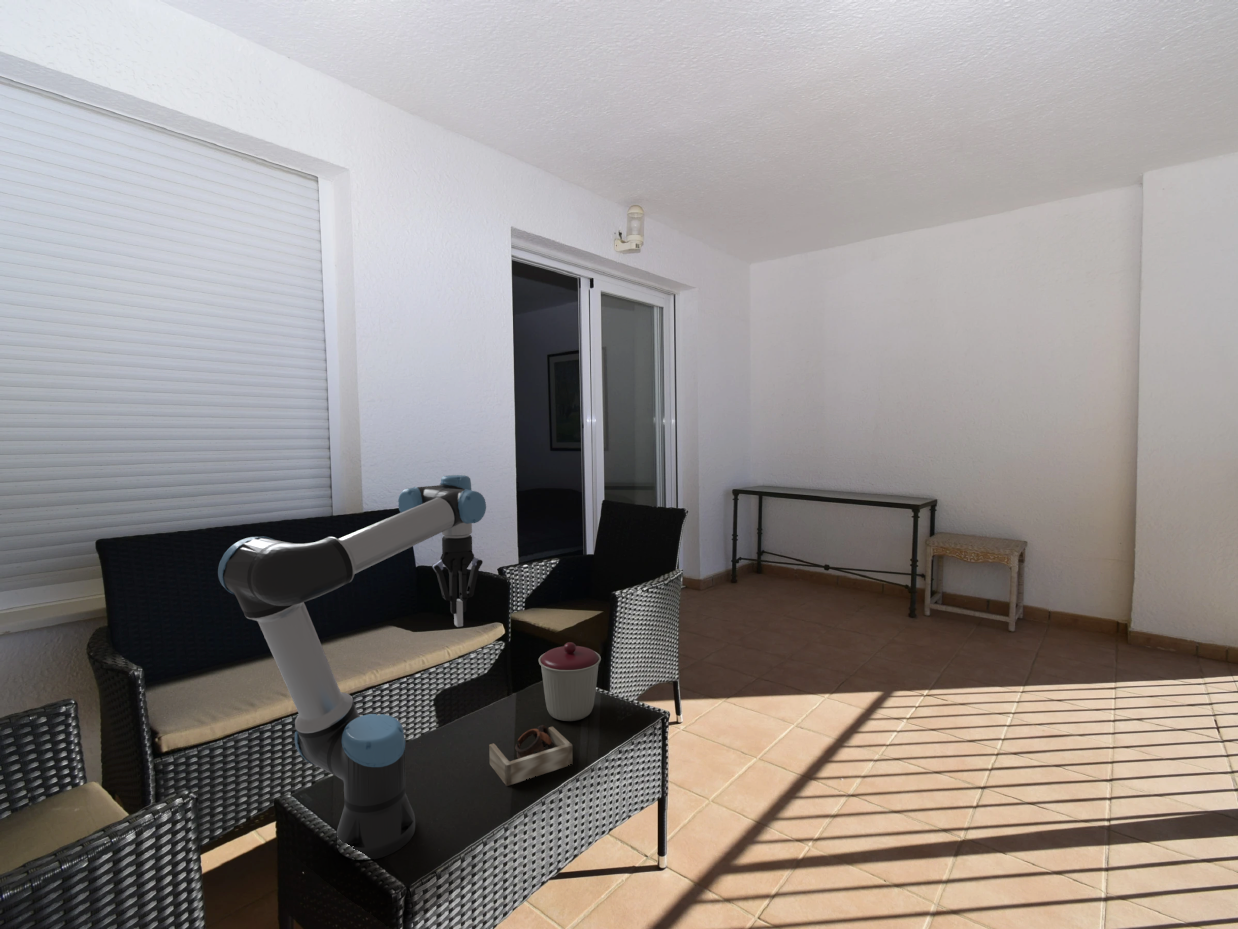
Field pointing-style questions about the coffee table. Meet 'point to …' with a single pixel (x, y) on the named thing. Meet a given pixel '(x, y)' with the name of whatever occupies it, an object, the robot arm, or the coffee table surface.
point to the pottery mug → (537, 745)
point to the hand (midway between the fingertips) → (458, 625)
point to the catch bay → (532, 760)
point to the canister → (569, 681)
